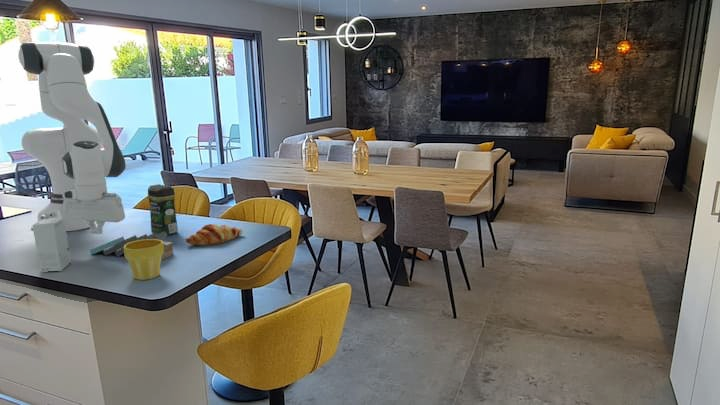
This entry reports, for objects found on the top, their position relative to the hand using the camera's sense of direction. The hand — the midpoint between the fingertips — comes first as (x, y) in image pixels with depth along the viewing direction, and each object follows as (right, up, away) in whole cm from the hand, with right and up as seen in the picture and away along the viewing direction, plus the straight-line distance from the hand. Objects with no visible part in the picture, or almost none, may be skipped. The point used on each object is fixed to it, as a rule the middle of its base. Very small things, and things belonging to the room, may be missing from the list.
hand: (97, 233), depth 154 cm
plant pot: (+25, -11, -18) cm, 33 cm away
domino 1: (-1, -6, +2) cm, 6 cm away
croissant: (+35, -4, +15) cm, 38 cm away
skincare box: (-5, -10, -12) cm, 17 cm away
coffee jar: (+12, -2, +24) cm, 27 cm away
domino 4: (+12, -7, -1) cm, 14 cm away
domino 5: (+16, -6, -2) cm, 17 cm away
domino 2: (+4, -6, +1) cm, 7 cm away
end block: (+22, -8, -3) cm, 24 cm away
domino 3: (+8, -6, 0) cm, 10 cm away
